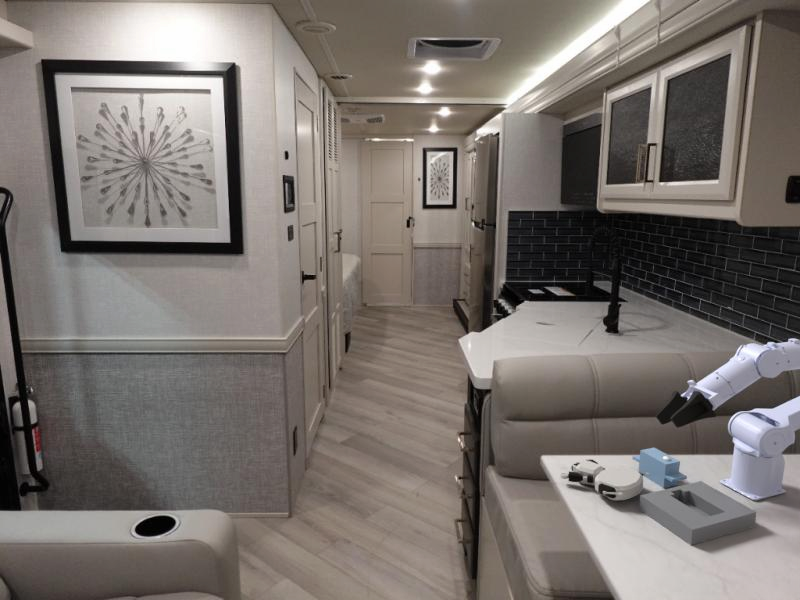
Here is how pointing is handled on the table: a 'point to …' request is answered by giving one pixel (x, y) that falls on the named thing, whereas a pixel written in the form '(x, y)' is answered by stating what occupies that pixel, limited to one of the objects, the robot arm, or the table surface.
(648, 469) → the block
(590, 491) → the table surface
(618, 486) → the robot toy
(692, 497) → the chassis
